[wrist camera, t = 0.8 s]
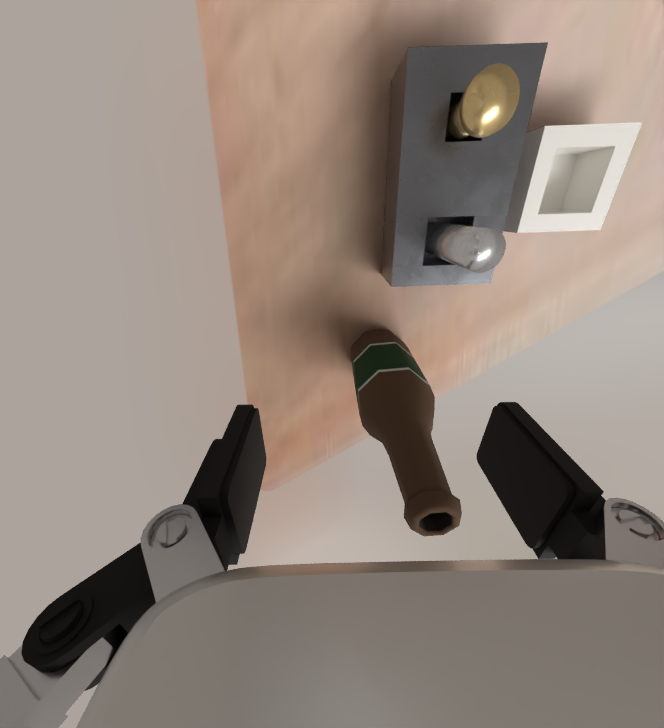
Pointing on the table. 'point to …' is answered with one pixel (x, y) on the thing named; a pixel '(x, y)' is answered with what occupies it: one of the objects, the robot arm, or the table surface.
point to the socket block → (448, 157)
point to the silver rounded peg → (465, 245)
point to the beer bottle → (404, 428)
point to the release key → (484, 104)
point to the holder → (568, 176)
